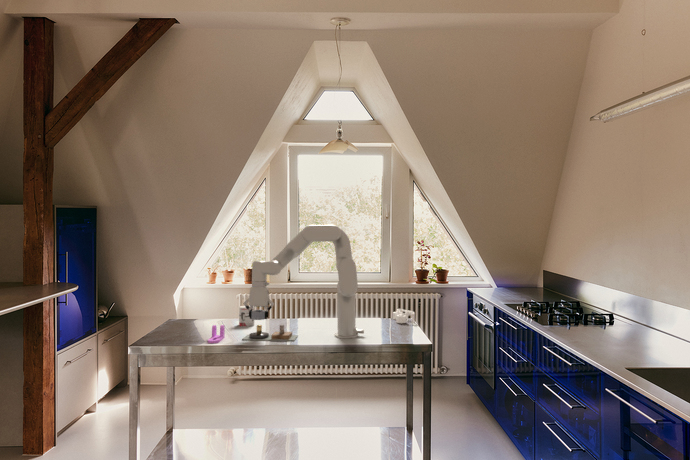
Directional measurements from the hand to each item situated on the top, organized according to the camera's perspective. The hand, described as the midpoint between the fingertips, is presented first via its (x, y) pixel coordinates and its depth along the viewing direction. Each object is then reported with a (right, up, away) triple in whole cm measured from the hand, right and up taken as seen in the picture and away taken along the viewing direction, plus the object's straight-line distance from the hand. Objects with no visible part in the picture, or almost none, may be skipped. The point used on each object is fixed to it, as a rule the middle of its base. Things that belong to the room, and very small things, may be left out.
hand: (258, 318), depth 244 cm
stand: (+12, -10, -1) cm, 16 cm away
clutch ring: (0, 0, 0) cm, 0 cm away
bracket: (-21, -11, -5) cm, 24 cm away
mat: (+6, -10, 0) cm, 12 cm away
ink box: (-13, -11, +31) cm, 35 cm away
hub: (0, -10, 0) cm, 10 cm away
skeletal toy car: (+81, -11, +43) cm, 92 cm away
